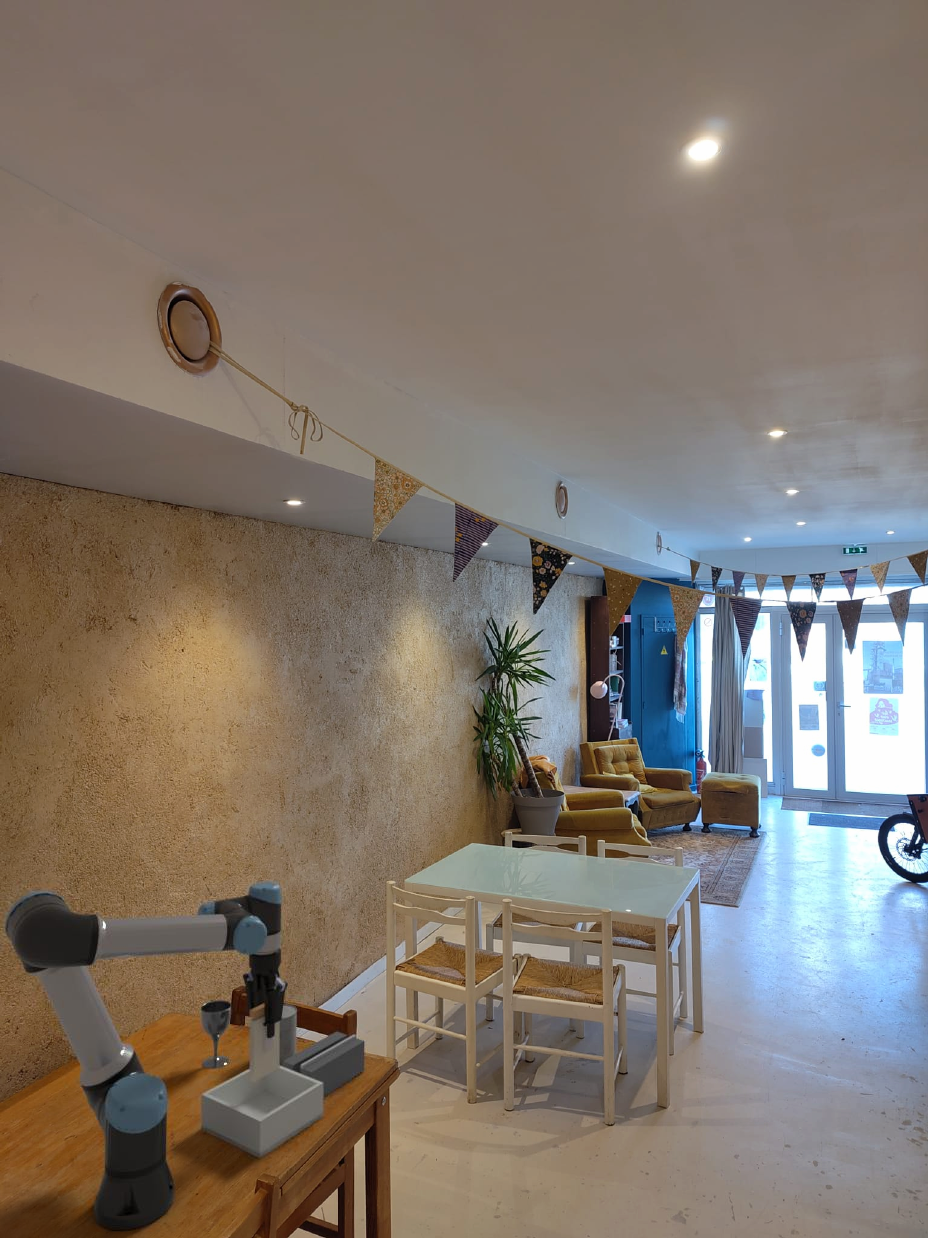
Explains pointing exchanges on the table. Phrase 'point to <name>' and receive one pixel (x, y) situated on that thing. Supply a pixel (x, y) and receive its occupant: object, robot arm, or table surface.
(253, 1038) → the cream flat board
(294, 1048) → the grey cylinder
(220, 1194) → the table surface
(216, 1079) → the table surface
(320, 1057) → the dispenser
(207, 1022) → the wine glass
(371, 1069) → the table surface
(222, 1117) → the bin
